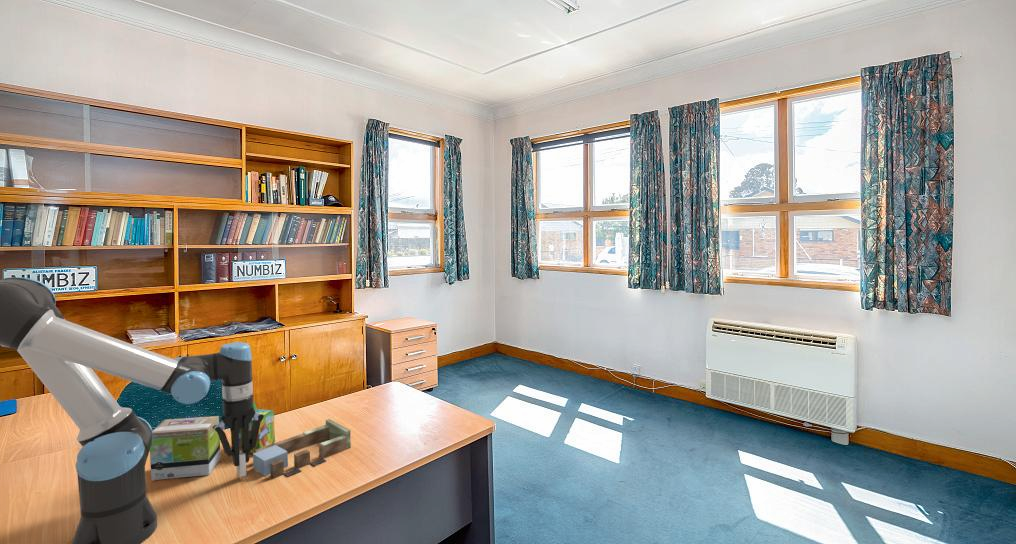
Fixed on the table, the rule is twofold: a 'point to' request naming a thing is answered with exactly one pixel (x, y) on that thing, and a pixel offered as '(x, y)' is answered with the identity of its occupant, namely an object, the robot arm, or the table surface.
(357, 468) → the table surface
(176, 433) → the tea box
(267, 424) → the chalk box
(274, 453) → the block
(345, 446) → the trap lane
